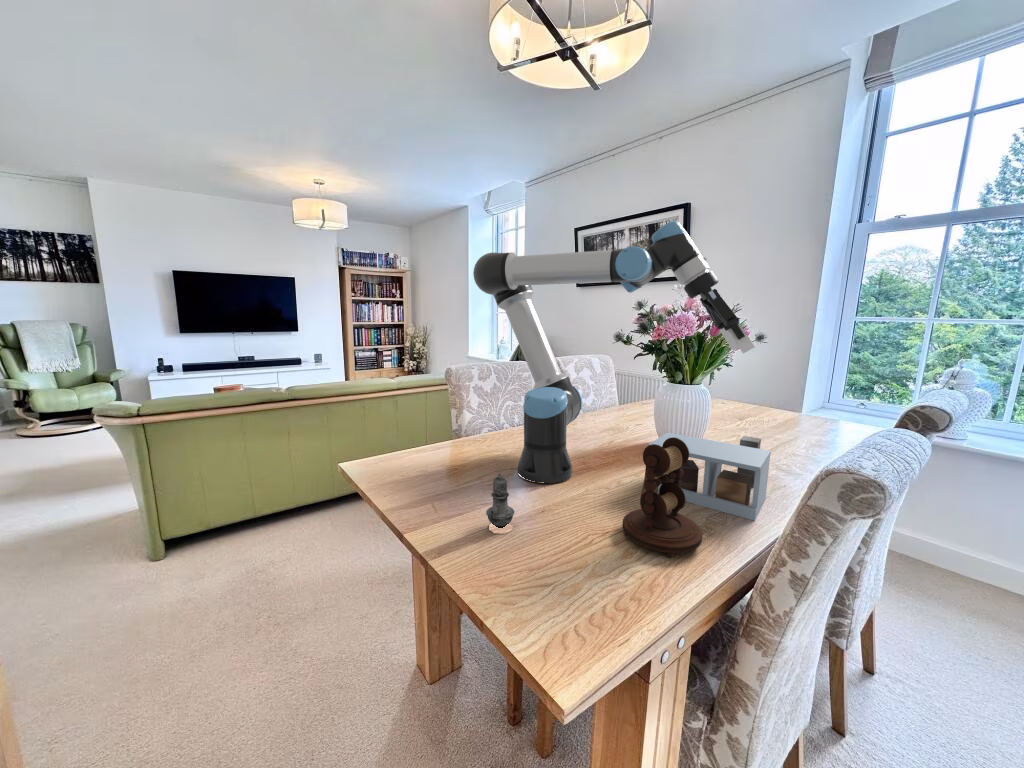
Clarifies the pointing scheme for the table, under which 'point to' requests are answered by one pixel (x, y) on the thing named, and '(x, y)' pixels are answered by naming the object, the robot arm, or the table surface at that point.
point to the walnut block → (737, 479)
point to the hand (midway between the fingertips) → (743, 349)
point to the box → (689, 476)
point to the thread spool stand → (663, 503)
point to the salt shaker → (500, 504)
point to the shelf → (714, 459)
